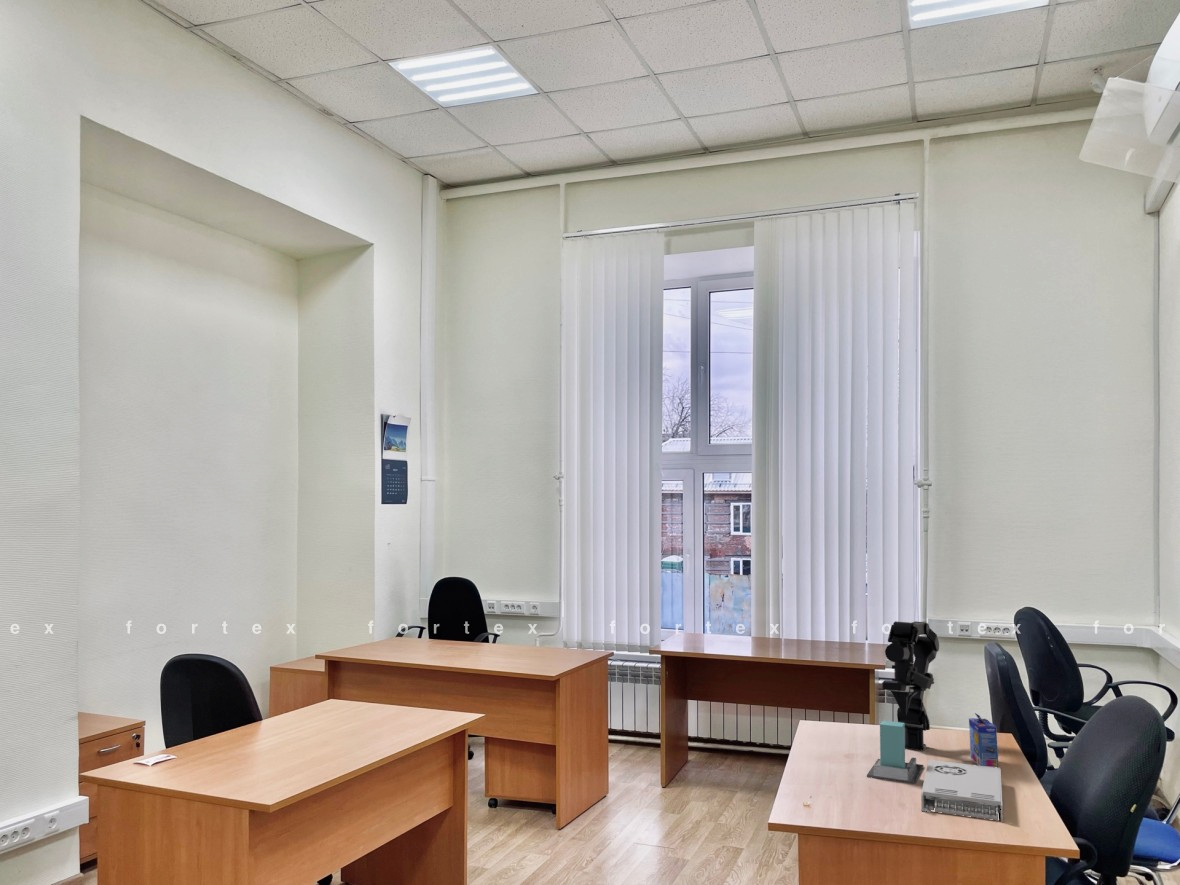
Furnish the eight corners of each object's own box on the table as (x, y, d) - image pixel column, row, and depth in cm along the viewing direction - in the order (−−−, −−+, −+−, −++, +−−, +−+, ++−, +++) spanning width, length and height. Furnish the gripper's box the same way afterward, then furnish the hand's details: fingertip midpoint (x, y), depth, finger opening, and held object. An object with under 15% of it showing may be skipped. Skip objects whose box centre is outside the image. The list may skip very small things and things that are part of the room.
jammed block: (883, 769, 260) (882, 720, 261) (905, 772, 257) (904, 722, 258) (880, 774, 255) (879, 724, 256) (902, 777, 253) (901, 726, 254)
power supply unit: (921, 813, 227) (920, 793, 228) (928, 777, 257) (928, 759, 258) (1003, 825, 220) (1002, 804, 220) (1000, 786, 250) (1000, 768, 250)
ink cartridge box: (968, 758, 275) (967, 710, 276) (987, 758, 274) (986, 710, 275) (979, 767, 265) (978, 717, 266) (999, 768, 264) (997, 718, 265)
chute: (878, 760, 271) (877, 748, 272) (923, 766, 265) (923, 754, 266) (866, 776, 255) (866, 764, 256) (914, 783, 249) (914, 770, 250)
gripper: (916, 663, 268) (916, 718, 264) (941, 665, 281) (942, 716, 278) (881, 661, 275) (881, 714, 272) (907, 662, 288) (907, 713, 285)
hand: (904, 714), depth 277 cm, fingers closed
